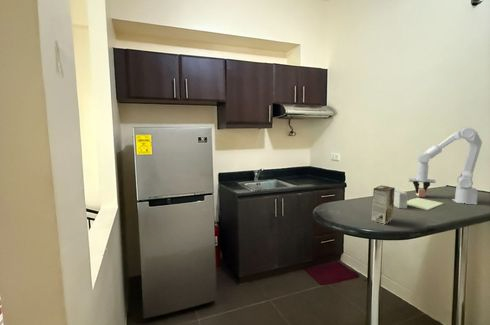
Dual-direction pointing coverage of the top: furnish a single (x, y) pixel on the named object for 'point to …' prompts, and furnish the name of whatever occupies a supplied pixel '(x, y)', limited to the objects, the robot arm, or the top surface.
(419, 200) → the sage mat
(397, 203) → the medicine box
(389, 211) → the coffee box
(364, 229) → the top surface
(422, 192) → the card deck
